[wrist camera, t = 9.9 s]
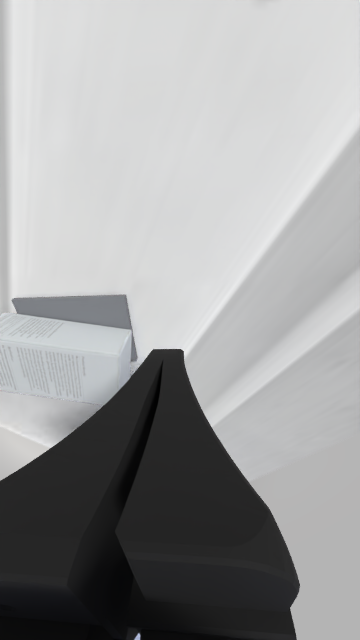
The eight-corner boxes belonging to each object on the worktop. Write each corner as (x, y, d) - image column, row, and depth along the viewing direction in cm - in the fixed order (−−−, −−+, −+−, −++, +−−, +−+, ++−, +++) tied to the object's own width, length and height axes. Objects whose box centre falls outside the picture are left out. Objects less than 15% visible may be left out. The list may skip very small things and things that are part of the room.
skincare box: (19, 360, 24) (131, 377, 24) (-15, 390, 20) (118, 410, 20) (5, 308, 21) (133, 328, 21) (-36, 332, 17) (119, 356, 17)
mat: (137, 358, 23) (136, 360, 23) (40, 359, 24) (38, 361, 24) (125, 294, 20) (124, 296, 20) (14, 298, 21) (11, 299, 20)
